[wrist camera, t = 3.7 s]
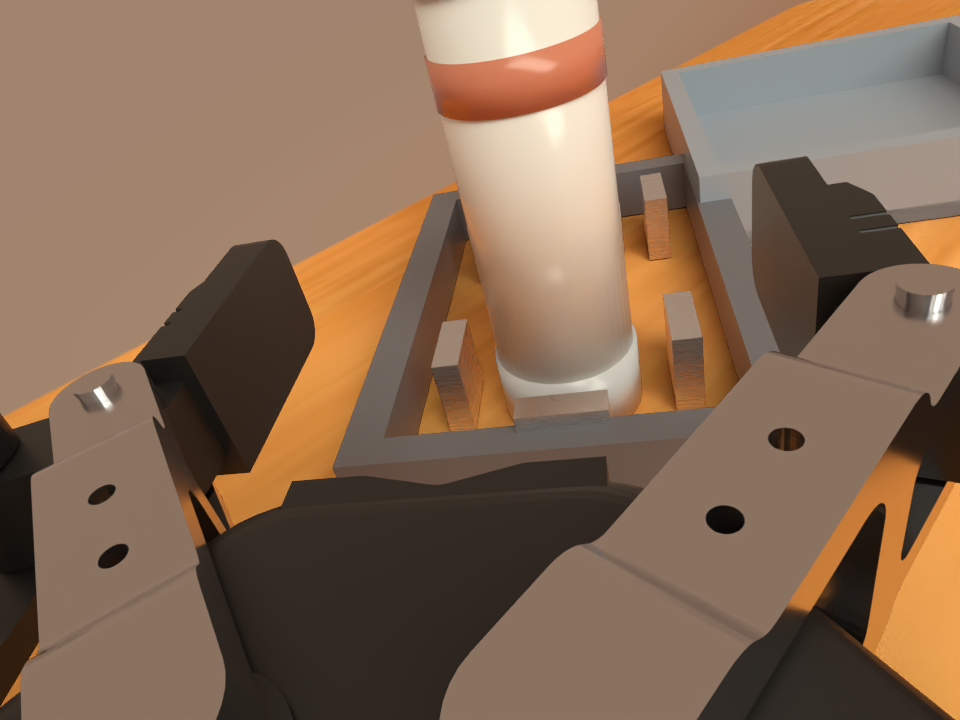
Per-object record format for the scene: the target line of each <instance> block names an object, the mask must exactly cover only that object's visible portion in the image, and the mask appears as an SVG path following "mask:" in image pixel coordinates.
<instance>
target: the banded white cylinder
mask: <svg viewBox="0 0 960 720" xmlns="http://www.w3.org/2000/svg"><path fill="white" fill-rule="evenodd" d="M413 3H414V7H415V11H416V15H417V20H418V24H419V28H420V32H421V36H422V41H423V44H424V49H425V53H426V54H425V56H424V57H425V62H426V66H427V71H428V75H429V78H430V83H431V87H432V91H433V95H434V99H435V104H436V108H437V111H438V113H439V114H440V115H441V119H442V124H443V128H444V132H445V136H446V140H447V144H448V149H449V153H450V157H451V161H452V165H453V169H454V174H455V178H456V182H457V186H458V190H459V194H460V199H461V203H462V207H463V211H464V215H465V219H466V224H467V228H468V232H469V236H470V240H471V244H472V248H473V253H474V257H475V261H476V265H477V269H478V273H479V278H480V282H481V286H482V290H483V294H484V298H485V303H486V307H487V311H488V315H489V319H490V323H491V328H492V332H493V336H494V340H495V344H496V349H495V358H496V363H497V367H498V371H499V375H500V379H501V383H502V387H503V391H504V396H505V400H506V404H507V408H508V412H509V414H510V417H511V418H512V420H513V415H514V405H515V399H516V398H526V397H536V396H546V395H556V394H566V393H576V392H586V391H595V390H605V389H607V390H608V397H609V404H610V411H611V417H614V416H625V415H632V414H633V413H634V412H635V410H636V409H637V407H638V405H639V403H640V401H641V397H642V382H641V372H640V363H639V353H638V343H637V334H636V330H635V328H634V326H633V324H632V320H631V311H630V302H629V292H628V283H627V274H626V264H625V255H624V246H623V237H622V227H621V218H620V209H619V199H618V190H617V181H616V171H615V162H614V153H613V143H612V134H611V125H610V116H609V106H608V97H607V88H606V77H607V67H606V57H605V48H604V39H603V29H602V20H601V16H600V15H599V13H598V4H597V0H413ZM513 421H514V420H513Z"/></svg>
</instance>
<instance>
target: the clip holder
mask: <svg viewBox="0 0 960 720" xmlns="http://www.w3.org/2000/svg"><path fill="white" fill-rule="evenodd" d="M615 171H616V181H617V190H618V199H619V203H620V212H621V217H622V216H629V215H636V214H642V213H643V218H644V229H645V236H646V242H647V247H648V253H649V258H650V260H655V259H662V258H670V257H671V252H670V237H669V222H668V210H669V209H676V208H682V207H686V208H687V211H688V214H689V218H690V221H691V224H692V228H693V231H694V234H695V238H696V241H697V244H698V248H699V251H700V254H701V257H702V261H703V264H704V267H705V271H706V274H707V277H708V281H709V284H710V287H711V291H712V294H713V297H714V301H715V304H716V307H717V311H718V314H719V317H720V321H721V324H722V327H723V330H724V334H725V337H726V340H727V344H728V347H729V350H730V354H731V357H732V360H733V364H734V367H735V370H736V374H737V377H738V380H740V379H741V378H742V377H743V376H744V375H745V374H746V372H747V371H748V370H749V369H750V368H751V367H752V366H753V365H754V363H755V362H756V361H757V360H758V359H759V358H760V357H761V356H762V355H763V354H765V353H766V352H769V351H776V352H780V351H779V349H778V346H777V343H776V341H775V338H774V336H773V333H772V331H771V328H770V325H769V323H768V320H767V318H766V315H765V312H764V310H763V307H762V305H761V302H760V300H759V297H758V294H757V291H756V287H755V283H754V277H753V268H752V245H751V243H750V241H749V238H748V236H747V234H746V231H745V229H744V227H743V224H742V222H741V220H740V217H739V215H738V213H737V210H736V208H735V206H734V203H733V201H732V199H731V198H730V199H723V200H716V201H710V202H703V203H700V201H699V198H698V195H697V192H696V189H695V186H694V183H693V180H692V177H691V174H690V171H689V168H688V165H687V162H686V160H685V157H684V154H678V155H672V156H666V157H659V158H653V159H647V160H641V161H635V162H629V163H623V164H617V165H615ZM469 239H470V236H469V232H468V228H467V224H466V219H465V215H464V211H463V207H462V203H461V199H460V194H459V191H453V192H447V193H441V194H435V195H433V198H432V201H431V203H430V206H429V209H428V212H427V214H426V217H425V220H424V222H423V225H422V228H421V230H420V233H419V236H418V239H417V241H416V244H415V247H414V249H413V252H412V255H411V257H410V260H409V263H408V266H407V268H406V271H405V274H404V276H403V279H402V282H401V284H400V287H399V290H398V293H397V295H396V298H395V301H394V303H393V306H392V309H391V311H390V314H389V317H388V320H387V322H386V325H385V328H384V330H383V333H382V336H381V338H380V341H379V344H378V347H377V349H376V352H375V355H374V357H373V360H372V363H371V365H370V368H369V371H368V373H367V376H366V379H365V382H364V384H363V387H362V390H361V392H360V395H359V398H358V400H357V403H356V406H355V409H354V411H353V414H352V417H351V419H350V422H349V425H348V427H347V430H346V433H345V436H344V438H343V441H342V444H341V446H340V449H339V452H338V454H337V457H336V460H335V463H334V465H333V470H334V472H335V474H336V477H337V478H340V477H352V476H371V477H378V478H385V479H393V480H400V481H408V482H415V483H422V484H430V485H441V484H446V483H450V482H454V481H458V480H461V479H465V478H469V477H472V476H476V475H480V474H484V473H487V472H491V471H495V470H498V469H502V468H506V467H509V466H513V465H517V464H521V463H527V462H539V461H552V460H564V459H577V458H589V457H602V456H606V459H607V465H608V472H609V478H610V481H612V482H619V483H625V484H629V485H633V486H638V487H642V488H645V487H646V486H647V485H648V484H649V483H650V482H651V480H652V479H653V478H654V477H655V476H656V475H657V474H658V473H659V471H660V470H661V469H662V468H663V467H664V466H665V465H666V463H667V462H668V461H669V460H670V459H671V458H672V457H673V455H674V454H675V453H676V452H677V451H678V450H679V449H680V447H681V446H682V445H683V444H684V443H685V442H686V441H687V440H688V438H689V437H690V436H691V435H692V434H693V433H694V432H695V430H696V429H697V428H698V427H699V426H700V425H701V424H702V422H703V421H704V420H705V419H706V418H707V417H708V416H709V415H710V413H711V412H712V411H713V410H714V409H715V408H716V407H711V408H706V405H705V382H704V358H703V337H702V333H701V329H700V325H699V321H698V317H697V313H696V309H695V306H694V302H693V298H692V294H691V291H685V292H677V293H669V294H663V302H664V315H665V328H666V341H667V354H668V364H669V369H670V375H671V380H672V386H673V391H674V397H675V402H676V408H677V411H668V412H657V413H646V414H636V415H625V416H614V417H611V411H610V404H609V397H608V390H607V389H605V390H595V391H586V392H576V393H566V394H556V395H546V396H536V397H526V398H516V399H515V405H514V415H513V420H514V424H515V426H507V427H497V428H486V429H476V427H477V420H478V414H479V408H480V401H481V395H482V389H483V382H484V380H483V377H482V373H481V369H480V365H479V362H478V358H477V354H476V350H475V347H474V343H473V339H472V335H471V332H470V328H469V324H468V320H467V319H463V320H455V321H447V322H446V318H447V314H448V310H449V306H450V302H451V298H452V294H453V290H454V286H455V283H456V279H457V275H458V271H459V267H460V263H461V259H462V255H463V251H464V247H465V243H466V240H469ZM470 243H471V240H470ZM471 247H472V244H471ZM472 252H473V248H472ZM473 256H474V253H473ZM474 260H475V257H474ZM475 264H476V261H475ZM476 268H477V265H476ZM477 272H478V269H477ZM478 276H479V273H478ZM479 280H480V278H479ZM480 283H481V282H480ZM432 374H433V376H434V379H435V383H436V386H437V389H438V392H439V395H440V398H441V402H442V405H443V408H444V411H445V414H446V417H447V421H448V424H449V427H450V430H451V432H443V433H432V434H422V435H417V433H418V429H419V425H420V421H421V417H422V413H423V409H424V405H425V402H426V398H427V394H428V390H429V386H430V382H431V378H432ZM699 408H700V409H699ZM688 409H689V410H688ZM678 410H679V411H678ZM474 429H475V430H474ZM463 430H464V431H463ZM453 431H454V432H453Z"/></svg>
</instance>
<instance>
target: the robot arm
mask: <svg viewBox="0 0 960 720" xmlns="http://www.w3.org/2000/svg"><path fill="white" fill-rule="evenodd" d="M752 268H753V277H754V283H755V287H756V291H757V294H758V297H759V300H760V302H761V305H762V307H763V310H764V312H765V315H766V318H767V320H768V323H769V325H770V328H771V331H772V333H773V336H774V338H775V341H776V343H777V346H778V349H779V351H780V352H776V351H769V352H766V353H765V354H763V355H762V356H761V357H760V358H759V359H758V360H757V361H756V362H755V363H754V365H753V366H752V367H751V368H750V369H749V370H748V371H747V372H746V374H745V375H744V376H743V377H742V378H741V379H740V380H739V382H738V383H737V384H736V385H735V386H734V387H733V388H732V390H731V391H730V392H729V393H728V394H727V395H726V396H725V397H724V399H723V400H722V401H721V402H720V403H719V404H718V405H717V407H716V408H715V409H714V410H713V411H712V412H711V413H710V415H709V416H708V417H707V418H706V419H705V420H704V421H703V422H702V424H701V425H700V426H699V427H698V428H697V429H696V430H695V432H694V433H693V434H692V435H691V436H690V437H689V438H688V440H687V441H686V442H685V443H684V444H683V445H682V446H681V447H680V449H679V450H678V451H677V452H676V453H675V454H674V455H673V457H672V458H671V459H670V460H669V461H668V462H667V463H666V465H665V466H664V467H663V468H662V469H661V470H660V471H659V473H658V474H657V475H656V476H655V477H654V478H653V479H652V480H651V482H650V483H649V484H648V485H647V486H646V487H645V488H642V487H638V486H633V485H629V484H625V483H619V482H612V481H610V478H609V472H608V465H607V459H606V456H602V457H589V458H577V459H564V460H552V461H539V462H527V463H521V464H517V465H513V466H509V467H506V468H502V469H498V470H495V471H491V472H487V473H484V474H480V475H476V476H472V477H469V478H465V479H461V480H458V481H454V482H450V483H446V484H441V485H430V484H422V483H415V482H408V481H400V480H393V479H385V478H378V477H371V476H352V477H340V478H327V479H315V480H303V481H292V483H291V485H290V488H289V490H288V492H287V495H286V497H285V499H284V502H283V504H282V506H280V507H277V508H274V509H271V510H269V511H266V512H263V513H261V514H258V515H256V516H253V517H251V518H249V519H247V520H245V521H243V522H241V523H239V524H237V525H235V526H234V525H233V522H232V520H231V518H230V515H229V513H228V510H227V508H226V506H225V503H224V501H223V498H222V496H221V495H220V493H219V491H218V490H217V488H216V486H215V485H214V483H213V481H214V479H215V477H216V476H217V475H226V474H238V473H250V471H251V469H252V467H253V465H254V463H255V461H256V459H257V457H258V455H259V453H260V451H261V449H262V447H263V445H264V443H265V441H266V439H267V437H268V435H269V433H270V431H271V429H272V427H273V425H274V423H275V421H276V419H277V417H278V415H279V413H280V411H281V409H282V407H283V405H284V403H285V401H286V399H287V397H288V395H289V393H290V391H291V389H292V387H293V385H294V383H295V381H296V379H297V377H298V375H299V373H300V371H301V369H302V367H303V365H304V363H305V361H306V359H307V357H308V355H309V353H310V351H311V349H312V347H313V344H314V339H315V327H314V320H313V317H312V313H311V311H310V308H309V306H308V304H307V301H306V299H305V296H304V294H303V291H302V289H301V287H300V284H299V282H298V279H297V277H296V275H295V272H294V270H293V267H292V265H291V263H290V260H289V258H288V256H287V253H286V251H285V249H284V248H283V246H282V245H281V244H280V243H279V242H278V241H276V240H267V241H261V242H254V243H249V244H242V245H235V246H233V247H232V248H231V249H230V250H229V251H228V253H227V254H226V255H225V256H224V257H223V259H222V260H221V261H220V262H219V264H218V265H217V266H216V267H215V269H214V270H213V271H212V272H211V274H210V275H209V276H208V277H207V279H206V280H205V281H204V282H203V283H201V284H200V285H199V286H197V287H196V288H195V289H193V290H192V291H191V292H190V293H188V295H187V296H186V297H185V298H184V300H183V301H182V302H181V303H180V305H179V306H178V307H177V308H176V312H174V313H172V314H171V315H170V317H169V318H168V319H167V320H166V322H165V323H164V324H165V326H163V327H161V328H160V329H159V330H158V331H157V333H156V334H155V335H154V336H153V337H152V339H151V340H150V341H149V342H148V343H147V345H146V346H145V347H144V348H143V350H142V351H141V352H140V353H139V354H138V356H137V357H136V358H135V359H134V360H133V362H121V363H115V364H111V365H107V366H104V367H101V368H99V369H96V370H94V371H92V372H90V373H88V374H86V375H84V376H82V377H80V378H79V379H77V380H75V381H74V382H72V383H71V384H70V385H68V386H67V387H66V388H65V389H63V390H62V391H61V392H60V393H59V394H58V395H57V397H56V398H55V399H54V400H53V402H52V403H51V406H50V408H49V418H47V419H44V420H40V421H37V422H34V423H31V424H28V425H25V426H21V427H18V428H15V429H12V428H11V427H10V425H9V424H8V423H7V422H6V420H5V419H4V418H3V416H2V415H1V414H0V706H1V704H2V702H3V701H4V699H5V697H6V696H7V694H8V692H9V691H10V689H11V687H12V686H13V684H14V682H15V681H16V679H17V677H18V676H19V674H20V672H21V671H22V674H21V692H19V693H18V694H17V695H15V696H14V697H13V698H12V699H10V700H9V701H8V702H7V703H5V704H4V705H3V706H2V707H0V720H955V719H954V718H952V717H951V716H950V715H949V714H947V713H946V712H945V711H944V710H942V709H941V708H940V707H939V706H937V705H936V704H935V703H934V702H933V701H931V700H930V699H929V698H928V697H926V696H925V695H924V694H923V693H921V692H920V691H919V690H918V689H916V688H915V687H914V686H913V685H911V684H910V683H909V682H908V681H907V680H905V679H904V678H903V677H902V676H900V675H899V674H898V673H897V672H895V671H894V670H893V669H892V668H890V667H889V666H888V665H887V664H885V663H884V662H883V661H882V660H881V659H879V658H878V657H877V656H876V655H874V654H875V651H876V649H877V647H878V645H879V642H880V640H881V638H882V635H883V633H884V630H885V627H886V625H887V622H888V619H889V616H890V613H891V610H892V607H893V604H894V601H895V599H896V596H897V594H898V591H899V589H900V587H901V585H902V583H903V581H904V579H905V577H906V575H907V573H908V571H909V569H910V568H911V566H912V564H913V562H914V560H915V558H916V556H917V554H918V553H919V551H920V549H921V547H922V545H923V543H924V541H925V539H926V538H927V536H928V534H929V532H930V530H931V528H932V526H933V525H934V523H935V521H936V519H937V517H938V515H939V513H940V511H941V510H942V508H943V506H944V504H945V502H946V500H947V498H948V496H949V495H950V493H951V491H952V489H953V487H954V484H955V482H956V483H960V269H957V268H953V267H948V266H943V265H935V264H929V262H928V261H927V260H926V259H925V257H924V256H923V255H922V254H921V252H920V251H919V250H918V249H917V247H916V246H915V245H914V244H913V242H912V241H911V240H910V239H909V237H908V236H907V235H906V234H905V232H904V231H903V230H902V229H901V228H898V224H897V223H896V221H895V220H894V219H893V218H892V216H891V215H890V214H887V210H886V209H885V208H884V206H883V205H882V204H881V203H880V201H879V200H878V199H877V198H876V196H875V195H874V194H872V193H870V192H868V191H866V190H864V189H861V188H859V187H857V186H855V185H853V184H850V183H848V182H842V183H836V184H829V185H827V183H826V182H825V181H824V179H823V178H822V176H821V175H820V173H819V172H818V171H817V169H816V168H815V166H814V165H813V163H812V162H811V161H810V159H809V158H808V157H807V156H803V157H797V158H790V159H784V160H778V161H771V162H765V163H759V164H755V165H754V168H753V174H752ZM38 642H39V650H38V653H37V655H36V656H34V657H33V658H31V659H29V657H30V656H31V654H32V652H33V651H34V649H35V647H36V646H37V644H38ZM28 659H29V660H28Z"/></svg>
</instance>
